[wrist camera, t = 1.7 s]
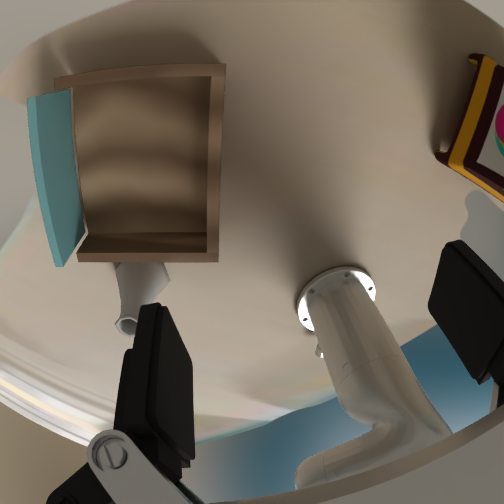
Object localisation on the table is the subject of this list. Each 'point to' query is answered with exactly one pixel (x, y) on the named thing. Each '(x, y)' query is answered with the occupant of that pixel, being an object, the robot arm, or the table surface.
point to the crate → (149, 161)
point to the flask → (138, 290)
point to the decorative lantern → (481, 130)
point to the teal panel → (56, 172)
